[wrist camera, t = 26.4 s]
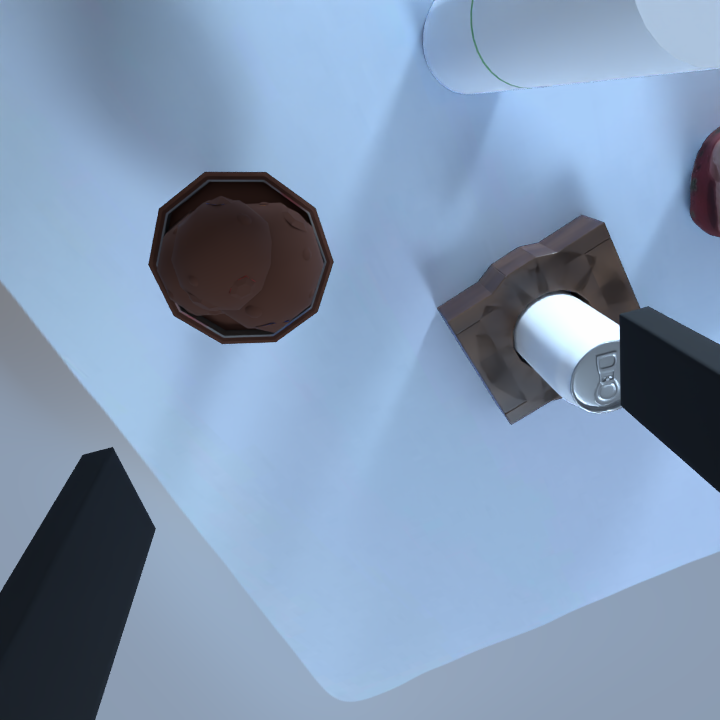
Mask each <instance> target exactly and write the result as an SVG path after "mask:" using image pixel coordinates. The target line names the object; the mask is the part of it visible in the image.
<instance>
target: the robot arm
mask: <svg viewBox="0 0 720 720" xmlns="http://www.w3.org/2000/svg"><path fill="white" fill-rule="evenodd" d="M619 328H620V399H621V406H622V407H623V408H624V409H625V410H626V411H627V412H629V413H630V414H631V415H632V416H633V417H634V418H635V419H637V420H638V421H639V422H640V423H641V424H642V425H643V426H644V427H646V428H647V429H648V430H649V431H650V432H651V433H652V434H654V435H655V436H656V437H657V438H658V439H659V440H660V441H662V442H663V443H664V444H665V445H666V446H667V447H668V448H670V449H671V450H672V451H673V452H674V453H675V454H676V455H678V456H679V457H680V458H681V459H682V460H683V461H684V462H685V463H687V464H688V465H689V466H690V467H691V468H692V469H693V470H695V471H696V472H697V473H698V474H699V475H700V476H701V477H703V478H704V479H705V480H706V481H707V482H708V483H709V484H711V485H712V486H713V487H714V488H715V489H716V490H717V491H719V492H720V344H718V343H716V342H714V341H712V340H710V339H708V338H706V337H705V336H703V335H701V334H699V333H697V332H695V331H693V330H692V329H690V328H688V327H686V326H684V325H682V324H680V323H678V322H677V321H675V320H673V319H671V318H669V317H667V316H665V315H664V314H662V313H660V312H658V311H656V310H654V309H652V308H650V307H649V306H648V307H644V308H641V309H637V310H633V311H629V312H625V313H621V314H619ZM155 529H156V528H155V526H154V525H153V523H152V521H151V519H150V517H149V515H148V513H147V511H146V509H145V508H144V506H143V504H142V502H141V500H140V498H139V496H138V494H137V492H136V490H135V488H134V487H133V485H132V483H131V481H130V479H129V477H128V475H127V473H126V472H125V469H124V468H123V466H122V464H121V462H120V460H119V458H118V456H117V454H116V453H115V451H114V449H113V447H111V448H108V449H104V450H100V451H96V452H92V453H89V454H84V455H82V457H81V459H80V460H79V462H78V464H77V465H76V467H75V469H74V470H73V472H72V474H71V475H70V477H69V479H68V480H67V482H66V484H65V486H64V487H63V489H62V491H61V492H60V494H59V496H58V497H57V499H56V501H55V502H54V504H53V505H52V507H51V509H50V510H49V512H48V514H47V515H46V517H45V519H44V520H43V522H42V524H41V526H40V527H39V529H38V530H37V532H36V534H35V536H34V537H33V539H32V540H31V542H30V544H29V545H28V547H27V549H26V550H25V552H24V554H23V555H22V557H21V559H20V561H19V562H18V564H17V565H16V567H15V569H14V570H13V572H12V574H11V576H10V577H9V579H8V580H7V582H6V584H5V585H4V587H3V589H2V591H1V592H0V720H95V718H96V715H97V712H98V709H99V705H100V703H101V699H102V696H103V693H104V690H105V687H106V684H107V680H108V677H109V674H110V671H111V668H112V665H113V662H114V658H115V655H116V652H117V649H118V646H119V643H120V639H121V636H122V633H123V630H124V627H125V624H126V621H127V617H128V614H129V611H130V608H131V605H132V602H133V599H134V595H135V592H136V589H137V586H138V583H139V580H140V577H141V573H142V570H143V567H144V564H145V561H146V558H147V554H148V551H149V548H150V545H151V542H152V539H153V535H154V533H155Z"/></svg>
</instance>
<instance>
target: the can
mask: <svg viewBox="0 0 720 720" xmlns="http://www.w3.org/2000/svg"><path fill="white" fill-rule="evenodd" d="M513 348H514V349H515V350H516V351H517V352H518V353H519V354H520V355H521V356H522V357H523V358H524V359H525V360H526V361H527V362H528V363H529V364H530V365H531V366H532V368H533V369H534V370H535V371H536V372H537V373H538V374H539V375H540V376H541V377H542V378H543V379H544V380H545V381H546V382H547V383H548V384H549V385H550V386H551V387H552V388H553V389H554V390H555V391H556V392H557V393H558V394H559V395H560V396H561V397H562V398H563V399H564V400H566V401H567V402H569V403H570V404H572V405H575V406H578V407H580V408H582V409H583V410H585V411H588V412H591V413H608V412H612V411H615V410H618V409H620V408H622V406H621V399H620V328H619V325H618V324H617V323H615V322H614V321H612V320H610V319H609V318H607V317H606V316H604V315H603V314H601V313H600V312H598V311H597V310H595V309H593V308H592V307H590V306H589V305H587V304H586V303H584V302H582V301H581V300H579V299H578V298H576V297H574V296H573V295H571V294H570V293H568V292H566V291H565V290H558V291H553V292H549V293H545V294H543V295H541V296H540V297H538V298H537V299H535V300H533V301H532V302H530V303H529V304H528V305H527V306H526V308H525V309H524V310H523V311H522V312H521V314H520V315H519V316H518V318H517V321H516V324H515V327H514V330H513Z"/></svg>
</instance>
